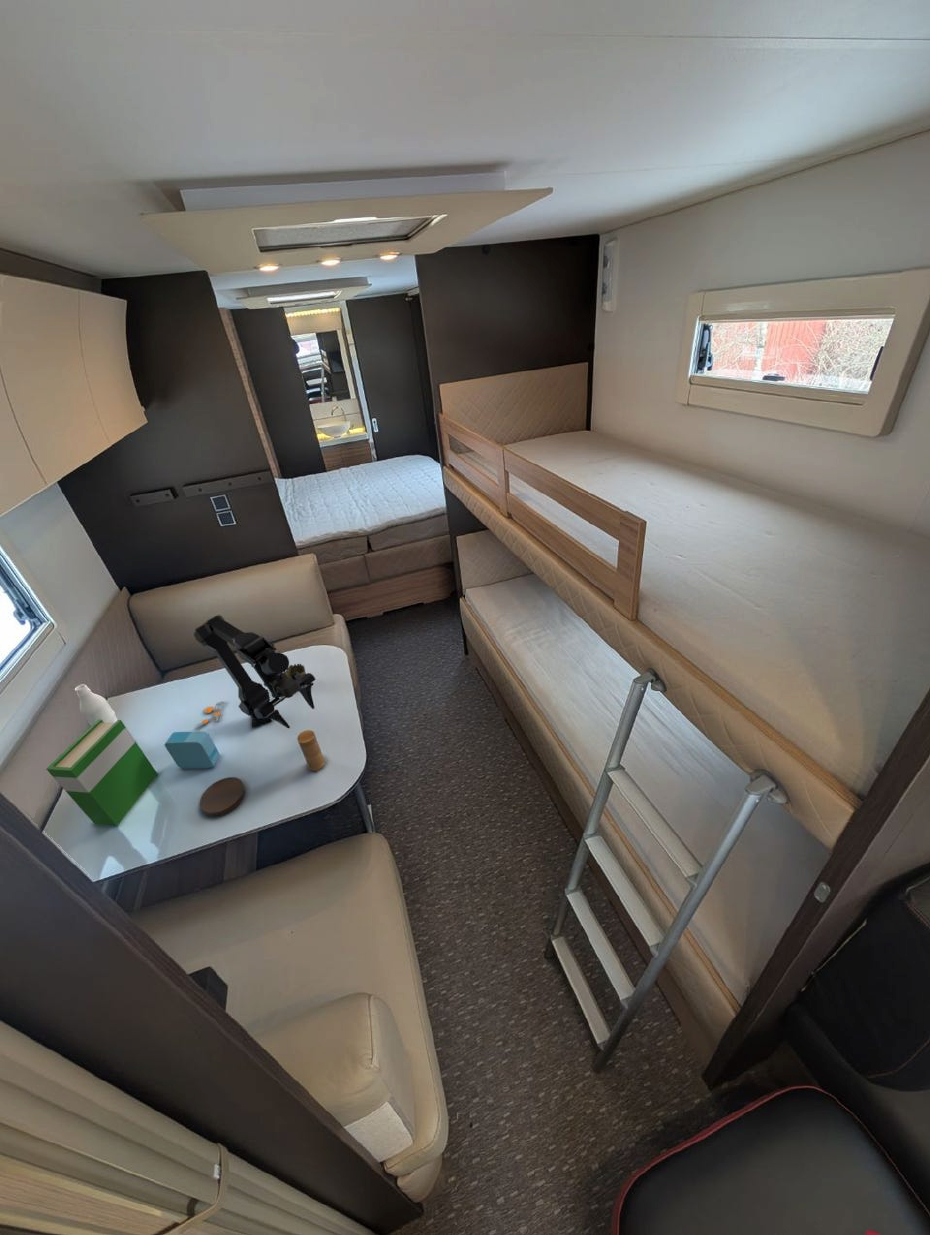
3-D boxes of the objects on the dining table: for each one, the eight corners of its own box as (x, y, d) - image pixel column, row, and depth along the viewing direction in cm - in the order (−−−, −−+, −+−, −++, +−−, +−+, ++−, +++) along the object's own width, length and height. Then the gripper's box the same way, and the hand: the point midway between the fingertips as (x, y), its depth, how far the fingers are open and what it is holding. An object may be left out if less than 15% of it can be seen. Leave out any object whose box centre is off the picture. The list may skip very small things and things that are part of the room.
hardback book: (137, 773, 151) (98, 719, 137) (158, 774, 149) (120, 719, 136) (94, 824, 136) (46, 769, 123) (116, 825, 135) (70, 770, 122)
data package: (221, 756, 153) (207, 730, 146) (215, 768, 149) (199, 742, 143) (186, 757, 154) (170, 731, 147) (179, 769, 150) (162, 743, 144)
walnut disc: (204, 790, 143) (201, 785, 141) (246, 775, 146) (243, 771, 144) (200, 823, 133) (197, 819, 132) (245, 807, 136) (243, 803, 135)
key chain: (209, 703, 175) (208, 702, 175) (228, 702, 175) (228, 700, 174) (193, 729, 164) (192, 728, 164) (214, 727, 164) (213, 726, 164)
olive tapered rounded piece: (304, 693, 175) (298, 676, 171) (286, 692, 177) (279, 675, 172) (313, 680, 181) (307, 663, 177) (296, 678, 183) (290, 662, 178)
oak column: (308, 761, 148) (296, 733, 141) (324, 755, 149) (313, 727, 143) (309, 773, 144) (297, 745, 137) (326, 767, 145) (315, 739, 139)
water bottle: (133, 740, 163) (96, 685, 149) (110, 753, 159) (69, 698, 145) (127, 730, 167) (90, 676, 154) (104, 743, 163) (64, 688, 149)
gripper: (253, 692, 128) (286, 738, 131) (308, 654, 140) (337, 697, 143) (240, 695, 136) (271, 738, 139) (293, 659, 148) (321, 699, 151)
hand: (301, 718), depth 143 cm, fingers open, 9 cm apart
